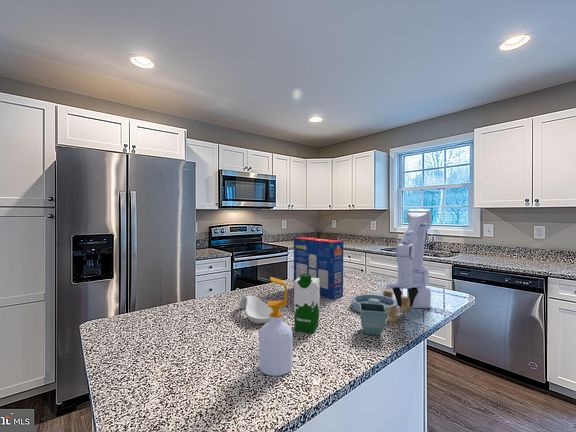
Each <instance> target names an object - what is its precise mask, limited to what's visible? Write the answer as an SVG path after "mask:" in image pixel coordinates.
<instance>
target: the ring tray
mask: <svg viewBox="0 0 576 432" xmlns="http://www.w3.org/2000/svg"><path fill="white" fill-rule="evenodd" d="M359 303H370V304H383V305H384V306H385V309H386V311H387V307H390V306H392V307H397V308H398V309H399V306H398V305H397V300H396V299H395V298H393V297H392V298H390V297H387V296H383V294H382V295H381V294H375V293H374V294H371V293H369V294H367V293H366V294H365V293H362V294H357V295H354V296H353V297H351V303H350V308H351V309H352V310H353V311H355V312H357V313H359V314H360V305H359ZM386 317H387V315H386Z"/></svg>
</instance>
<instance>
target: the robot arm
mask: <svg viewBox="0 0 576 432" xmlns="http://www.w3.org/2000/svg"><path fill="white" fill-rule="evenodd" d="M432 217H433V216H432V210H431V209H411V208H410V209H408V210H407V213H406V221H407V223H408V226H407V227H408V228H407V230H405V231H404V232H403V235H402V237H401V240H400V243H398V244H397V245H396V247H395V256H396V257H395V258H396V262H397V282H387V283H386V290H391V289H392V290H391V291H392V293H393V295H394V296H395V300H396V301H397V305H398V308H400V307H401V296H403V291H402V290H403V289H406V296H407V297H410V309H431V308H432V305H431V304H432V303H431V301H432V297H431V296H432V294H431V293H432V292H431V289H430V287H429V286H428V285H429V280H430V277H429V270H428V269H427V267H425V266H424V265H423V261H424V254H425V253H424V252H425V245H426V244H425V243H426V234H427V232H428V230H429V229H431V226H432V220H433V219H432ZM401 289H402V290H401Z"/></svg>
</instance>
